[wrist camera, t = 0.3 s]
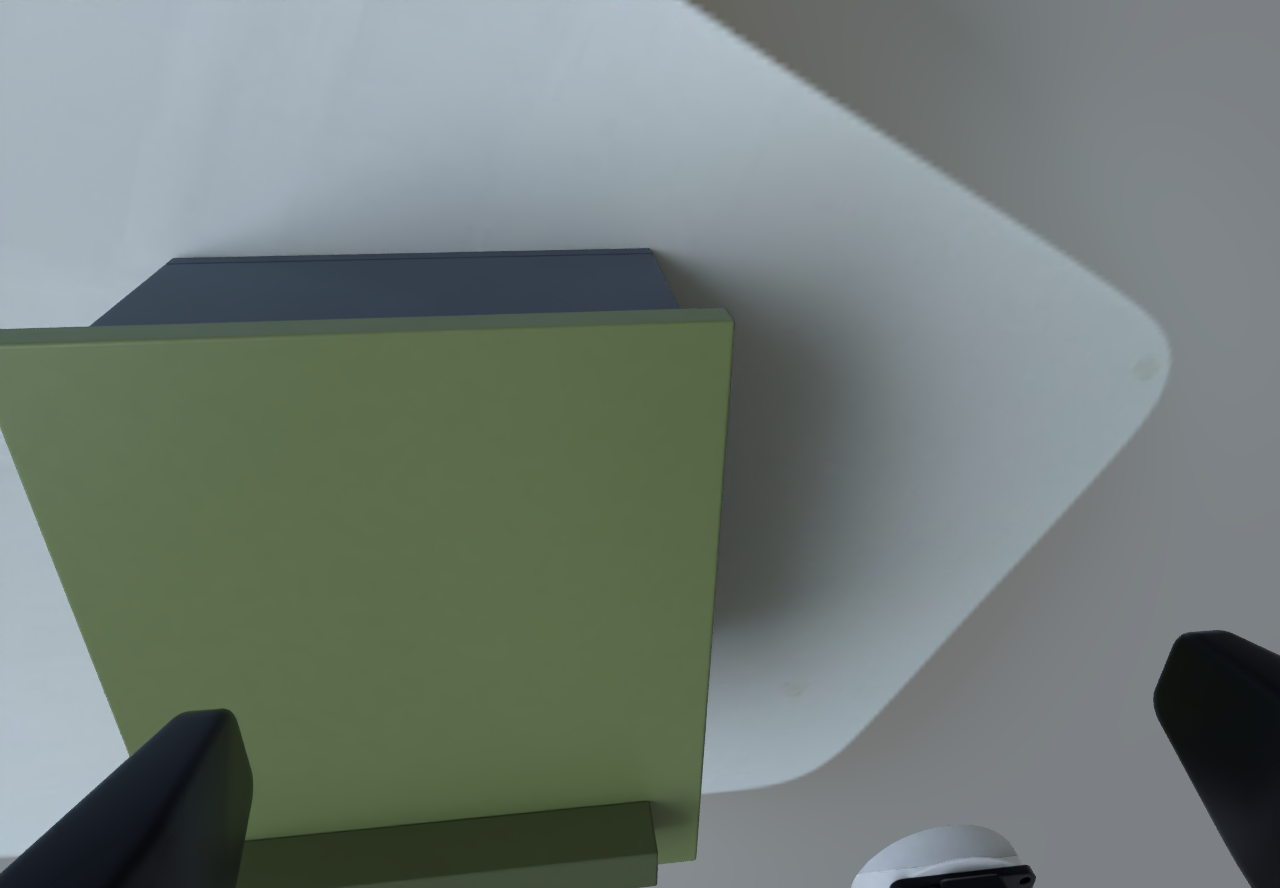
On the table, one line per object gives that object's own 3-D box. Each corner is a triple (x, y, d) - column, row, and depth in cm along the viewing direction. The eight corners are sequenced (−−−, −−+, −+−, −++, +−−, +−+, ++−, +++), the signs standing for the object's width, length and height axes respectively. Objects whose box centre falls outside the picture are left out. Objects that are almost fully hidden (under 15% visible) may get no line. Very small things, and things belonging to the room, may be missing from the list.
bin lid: (691, 834, 23) (707, 916, 21) (201, 886, 21) (169, 979, 19) (726, 306, 16) (757, 353, 14) (-8, 328, 14) (-94, 385, 12)
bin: (642, 650, 28) (674, 819, 22) (279, 679, 27) (216, 866, 21) (650, 247, 22) (698, 342, 16) (171, 257, 20) (38, 365, 15)
